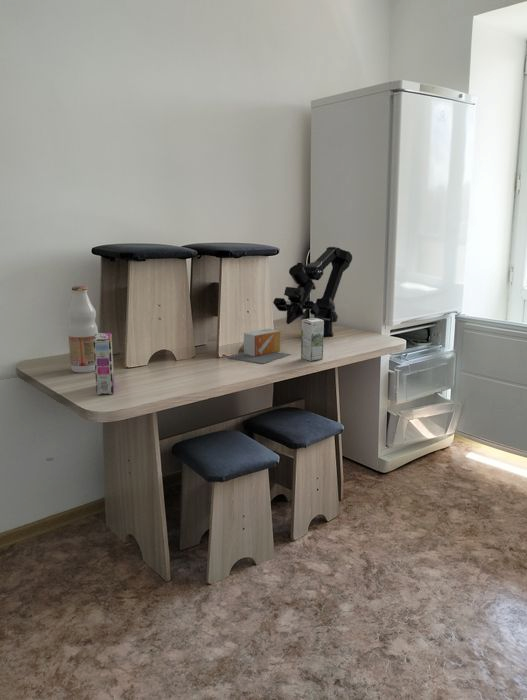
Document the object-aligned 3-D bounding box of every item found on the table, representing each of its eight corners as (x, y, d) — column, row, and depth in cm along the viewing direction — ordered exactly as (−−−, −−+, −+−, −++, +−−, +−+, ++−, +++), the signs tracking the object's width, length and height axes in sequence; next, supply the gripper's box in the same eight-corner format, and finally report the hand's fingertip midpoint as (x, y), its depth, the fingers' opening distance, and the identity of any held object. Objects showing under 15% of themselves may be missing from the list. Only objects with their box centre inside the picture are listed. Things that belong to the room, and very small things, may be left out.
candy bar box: (114, 394, 165) (110, 339, 161) (96, 396, 164) (92, 340, 160) (115, 384, 175) (111, 331, 172) (98, 385, 174) (94, 332, 170)
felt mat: (255, 349, 221) (255, 348, 220) (290, 354, 211) (290, 354, 211) (227, 357, 207) (227, 357, 207) (263, 364, 198) (263, 363, 198)
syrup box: (313, 356, 209) (313, 317, 206) (323, 359, 204) (324, 319, 201) (300, 358, 206) (301, 318, 202) (311, 361, 201) (311, 321, 198)
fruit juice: (67, 373, 188) (60, 288, 182) (76, 366, 197) (70, 285, 191) (95, 373, 188) (89, 288, 181) (103, 366, 197) (98, 285, 191)
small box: (280, 351, 215) (254, 357, 207) (269, 348, 220) (243, 354, 212) (280, 330, 214) (254, 335, 205) (269, 328, 218) (243, 332, 210)
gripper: (275, 277, 227) (259, 309, 221) (315, 280, 216) (299, 313, 210) (286, 294, 235) (271, 325, 229) (325, 298, 224) (310, 330, 218)
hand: (287, 323), depth 222 cm, fingers closed
